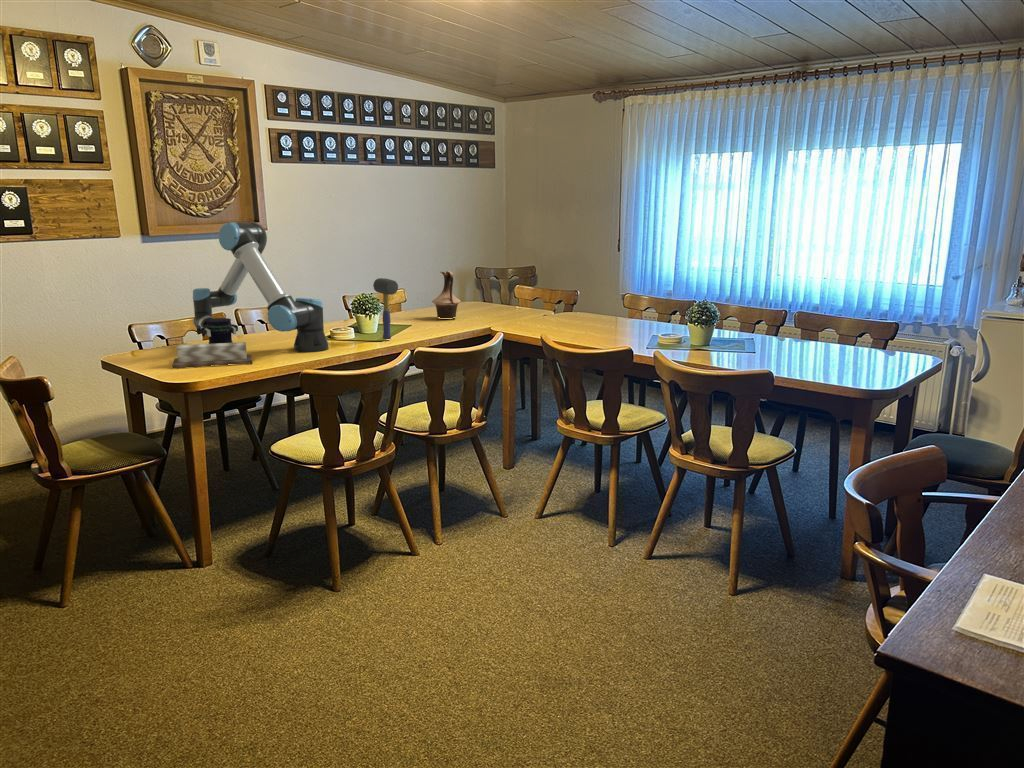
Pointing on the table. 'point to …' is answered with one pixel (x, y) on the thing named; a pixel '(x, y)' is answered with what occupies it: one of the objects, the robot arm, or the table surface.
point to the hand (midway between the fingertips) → (222, 332)
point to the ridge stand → (211, 355)
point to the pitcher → (446, 298)
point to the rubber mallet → (386, 301)
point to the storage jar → (220, 330)
